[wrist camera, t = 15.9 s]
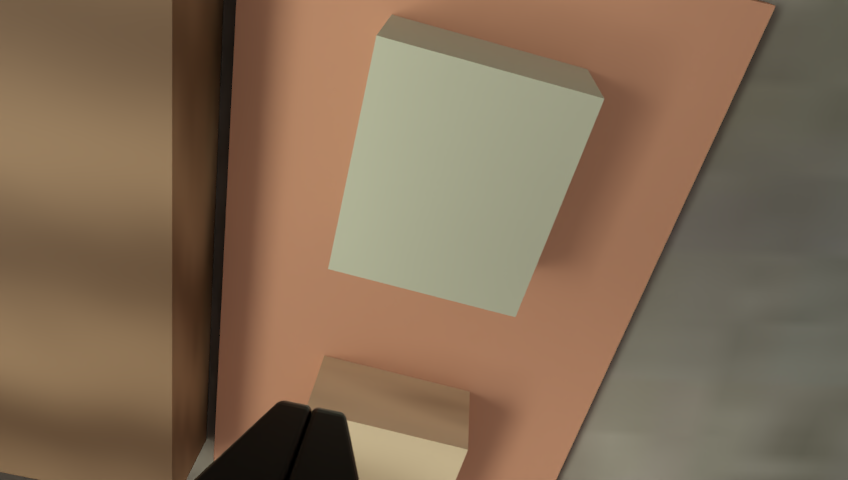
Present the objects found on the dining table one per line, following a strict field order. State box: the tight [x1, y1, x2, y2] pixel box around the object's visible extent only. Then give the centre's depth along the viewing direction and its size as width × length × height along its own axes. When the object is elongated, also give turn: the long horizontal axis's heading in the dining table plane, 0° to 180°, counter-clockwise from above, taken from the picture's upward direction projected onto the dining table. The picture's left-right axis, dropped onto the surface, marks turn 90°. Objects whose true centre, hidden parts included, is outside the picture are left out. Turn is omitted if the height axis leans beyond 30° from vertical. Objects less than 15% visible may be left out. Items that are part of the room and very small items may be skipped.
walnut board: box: [0, 0, 223, 480], centre depth 18 cm, size 18×10×3 cm, turn 168°
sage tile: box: [328, 15, 604, 317], centre depth 16 cm, size 6×5×2 cm
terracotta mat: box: [214, 0, 775, 480], centre depth 19 cm, size 20×12×1 cm, turn 168°
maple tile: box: [307, 356, 470, 480], centre depth 21 cm, size 6×5×2 cm
